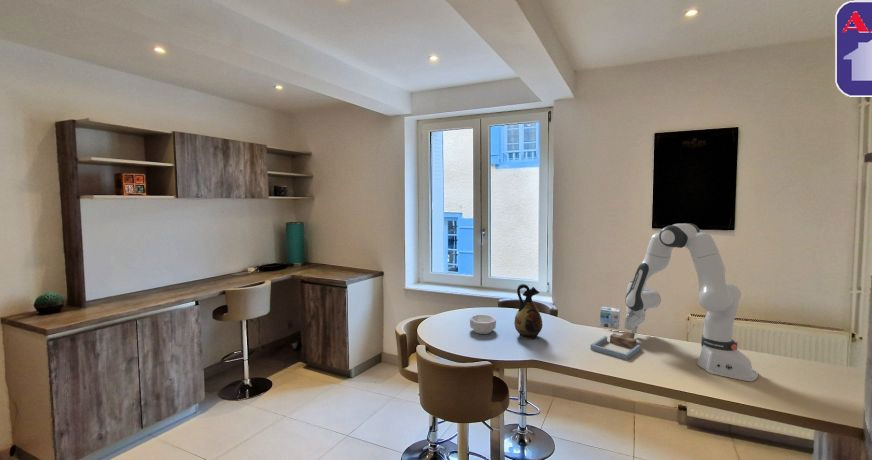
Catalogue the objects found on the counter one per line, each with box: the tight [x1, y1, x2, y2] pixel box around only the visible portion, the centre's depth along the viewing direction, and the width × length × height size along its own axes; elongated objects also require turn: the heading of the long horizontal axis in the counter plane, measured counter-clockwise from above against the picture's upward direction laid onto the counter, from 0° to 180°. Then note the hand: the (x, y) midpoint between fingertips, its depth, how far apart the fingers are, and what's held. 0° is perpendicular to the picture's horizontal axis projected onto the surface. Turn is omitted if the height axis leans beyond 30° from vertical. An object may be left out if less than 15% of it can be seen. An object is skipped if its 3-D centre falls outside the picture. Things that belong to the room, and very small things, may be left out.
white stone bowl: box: [469, 314, 497, 335], centre depth 237 cm, size 15×15×8 cm
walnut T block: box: [609, 331, 637, 349], centre depth 217 cm, size 12×12×4 cm
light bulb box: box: [599, 306, 621, 330], centre depth 242 cm, size 11×7×11 cm, turn 62°
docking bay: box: [590, 335, 641, 361], centre depth 208 cm, size 18×17×2 cm
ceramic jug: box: [513, 283, 543, 340], centre depth 226 cm, size 17×15×30 cm
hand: (634, 333), depth 225 cm, fingers closed
